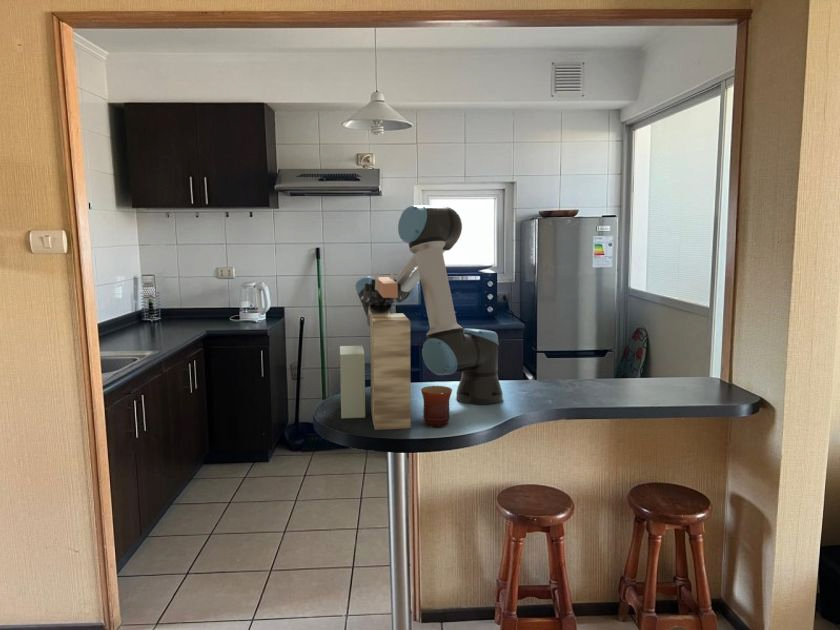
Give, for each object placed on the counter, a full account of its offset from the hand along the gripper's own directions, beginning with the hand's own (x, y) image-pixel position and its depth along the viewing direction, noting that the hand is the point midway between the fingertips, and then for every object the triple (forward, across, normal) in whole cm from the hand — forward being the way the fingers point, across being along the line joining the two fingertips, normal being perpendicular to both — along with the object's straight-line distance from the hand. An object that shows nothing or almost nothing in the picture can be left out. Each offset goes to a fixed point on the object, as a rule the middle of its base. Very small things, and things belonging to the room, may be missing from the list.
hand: (384, 276), depth 184 cm
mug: (-3, -12, -45) cm, 47 cm away
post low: (-16, +10, -38) cm, 42 cm away
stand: (-8, 0, -43) cm, 43 cm away
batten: (+1, 0, -6) cm, 6 cm away
